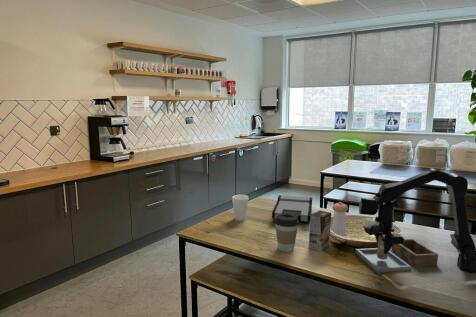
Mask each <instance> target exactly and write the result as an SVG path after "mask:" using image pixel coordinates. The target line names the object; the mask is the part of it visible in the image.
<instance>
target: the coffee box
mask: <svg viewBox="0 0 476 317" xmlns="http://www.w3.org/2000/svg"><path fill="white" fill-rule="evenodd" d="M331 224H332V212H328V211H324V210H317V211H315V212H312V213H311V214H310V222H309V235H308V248H309V249H312V250H315V251H319V252H321V251H323V250H324V249H326V248H328V247H330V241H331V228H332V225H331Z"/></svg>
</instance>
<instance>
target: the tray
mask: <svg viewBox="0 0 476 317" xmlns="http://www.w3.org/2000/svg"><path fill="white" fill-rule="evenodd" d="M377 250H378V247H374V248H373V247H372V248H371V247H369V248H368V247H367V248H355V255H356V256H357V257H358V258H359V259H360V260H361V261H363V263H364V264H366V265H367V267H369V268H370V269H371V270H372V271H373V272H374V273H376V274H377V275H385V273H386V272H387V273H388V272H389V273H390V272H401V271H403V272H405V271H411V270H412V265H411V264H409V263H408V262H406V261H405V260H404V259H402V258H401V257H400V256H398V255H397V254H396V253H394V252H393V251H392V250H391V249H390V250H389V252H388V257H387V259H379V258H378V257H377Z"/></svg>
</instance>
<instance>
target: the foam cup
mask: <svg viewBox="0 0 476 317" xmlns="http://www.w3.org/2000/svg"><path fill="white" fill-rule="evenodd" d="M231 201H232V209H233V216H234V220H235V221H239V222H243V221H246V218H247V212H248V211H247V210H248V207H249V206H248V205H249V196H248V195H246V194H236V195H235V194H234V195H232V198H231Z"/></svg>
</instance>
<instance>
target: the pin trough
mask: <svg viewBox="0 0 476 317" xmlns="http://www.w3.org/2000/svg"><path fill="white" fill-rule="evenodd" d="M391 252H392V253H394V254H395V255H396V256H398V257H399V258H400V259H402V260H403V261H404V262H406V263H407V264H408V265H410V266H411V267H414V268H427V267H438V259H439V253H437V252H435V251H434V250H432V249H430V248H429V247H427V246H425V245H424V244H423V243H420V242H419V241H417V240H416V239H414V238H404V244H394V245H393V246H392V248H391Z"/></svg>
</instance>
